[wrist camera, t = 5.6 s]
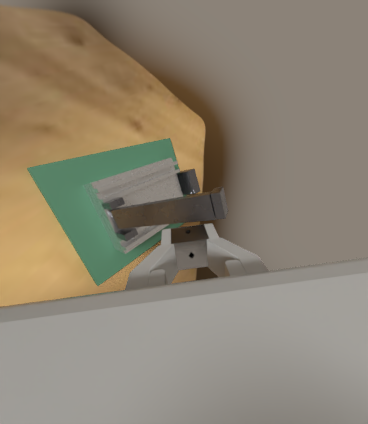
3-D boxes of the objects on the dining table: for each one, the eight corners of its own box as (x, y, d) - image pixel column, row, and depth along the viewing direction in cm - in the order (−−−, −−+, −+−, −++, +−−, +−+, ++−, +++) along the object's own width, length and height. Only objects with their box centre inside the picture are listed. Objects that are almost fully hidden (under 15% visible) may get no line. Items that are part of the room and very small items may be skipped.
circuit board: (95, 283, 28) (97, 286, 28) (27, 169, 22) (27, 167, 21) (190, 216, 45) (192, 216, 44) (167, 139, 38) (169, 138, 37)
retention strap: (125, 222, 27) (116, 229, 25) (118, 205, 26) (108, 211, 24) (228, 210, 20) (225, 218, 18) (222, 186, 19) (219, 192, 17)
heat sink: (115, 249, 29) (134, 258, 25) (83, 185, 26) (98, 180, 21) (185, 205, 42) (207, 205, 37) (170, 157, 38) (193, 150, 33)
